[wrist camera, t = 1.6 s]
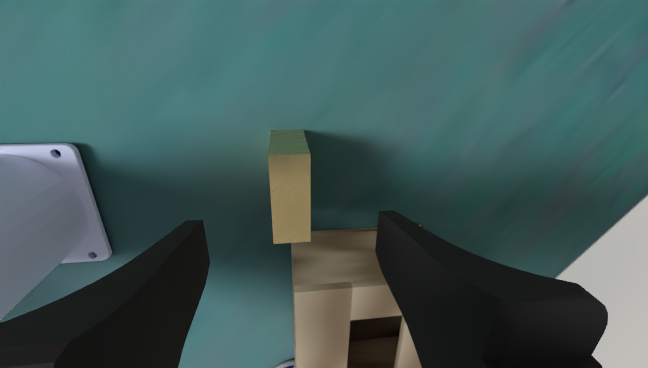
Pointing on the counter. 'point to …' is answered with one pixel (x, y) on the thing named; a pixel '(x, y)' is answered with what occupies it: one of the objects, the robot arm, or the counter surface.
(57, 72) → the counter surface
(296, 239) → the block
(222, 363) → the counter surface
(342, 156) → the counter surface
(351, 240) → the box
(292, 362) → the energy drink
